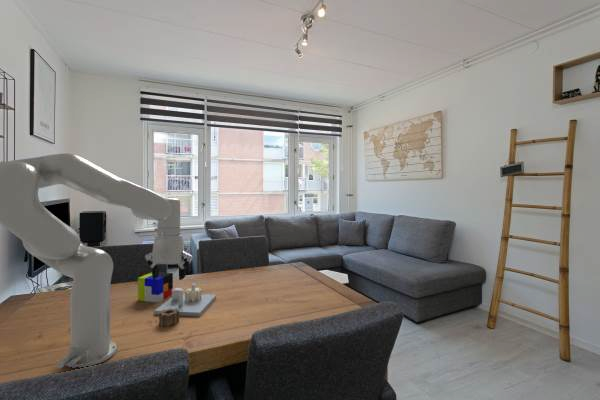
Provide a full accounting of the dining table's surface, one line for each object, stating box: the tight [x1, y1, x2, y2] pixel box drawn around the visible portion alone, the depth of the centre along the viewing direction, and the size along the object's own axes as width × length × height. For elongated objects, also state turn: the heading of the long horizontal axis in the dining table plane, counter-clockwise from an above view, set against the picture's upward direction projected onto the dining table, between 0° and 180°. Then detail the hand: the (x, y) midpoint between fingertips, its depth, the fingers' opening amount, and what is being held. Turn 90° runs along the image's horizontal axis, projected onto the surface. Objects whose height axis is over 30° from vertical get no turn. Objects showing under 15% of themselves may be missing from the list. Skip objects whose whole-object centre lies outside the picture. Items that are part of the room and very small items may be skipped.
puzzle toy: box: [137, 271, 174, 303], centre depth 133 cm, size 10×10×10 cm
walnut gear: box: [158, 308, 180, 328], centre depth 108 cm, size 6×6×4 cm
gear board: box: [153, 283, 217, 317], centre depth 124 cm, size 19×18×8 cm
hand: (168, 278), depth 108 cm, fingers open, 9 cm apart
